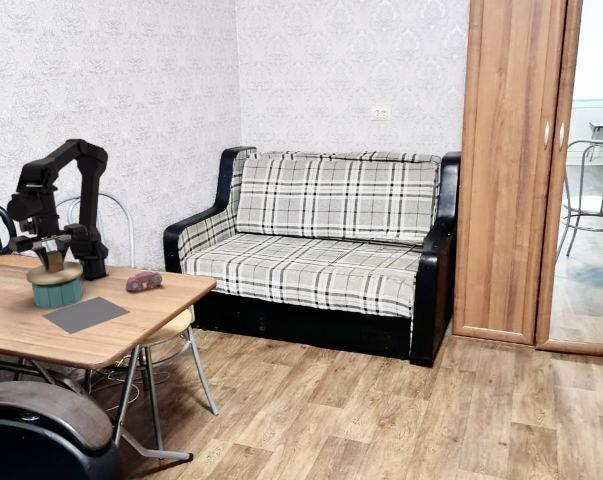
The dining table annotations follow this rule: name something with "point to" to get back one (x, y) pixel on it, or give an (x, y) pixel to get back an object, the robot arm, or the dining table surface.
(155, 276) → the purple toy car
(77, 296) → the bowl
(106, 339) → the dining table surface
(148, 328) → the dining table surface
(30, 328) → the dining table surface
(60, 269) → the lid
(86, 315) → the mat
